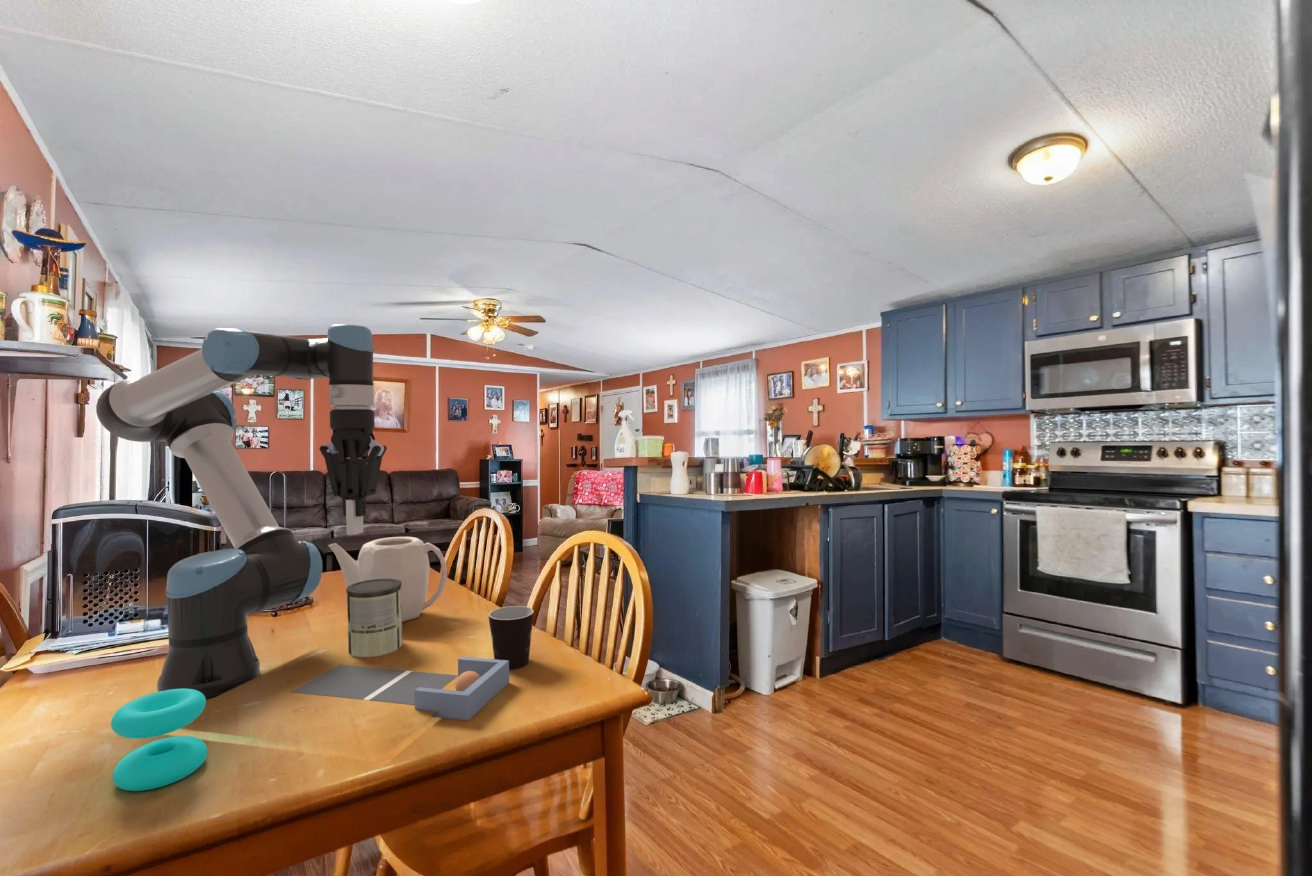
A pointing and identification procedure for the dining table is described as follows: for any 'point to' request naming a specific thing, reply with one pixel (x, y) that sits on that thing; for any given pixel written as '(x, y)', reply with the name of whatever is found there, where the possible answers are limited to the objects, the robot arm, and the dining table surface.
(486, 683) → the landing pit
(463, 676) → the ball
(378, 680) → the runway
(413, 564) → the white teapot
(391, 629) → the coffee can
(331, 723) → the dining table surface
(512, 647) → the coffee mug
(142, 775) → the donuts
